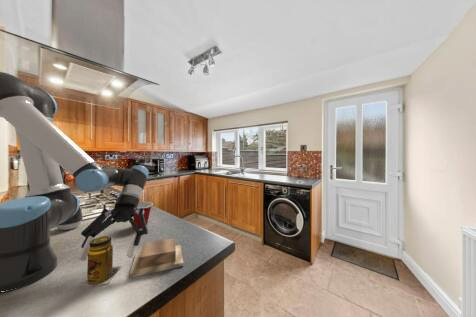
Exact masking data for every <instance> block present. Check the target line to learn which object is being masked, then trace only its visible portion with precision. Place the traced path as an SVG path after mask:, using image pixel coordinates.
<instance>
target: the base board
mask: <svg viewBox="0 0 476 317" xmlns="http://www.w3.org/2000/svg"><path fill="white" fill-rule="evenodd" d="M175 240H176V238H175V237H174V238H167V239H161V240H155V241H149V242H143V244H142V248H141V251H136V253H135V256H134V259H133V263H132V265H131V267H130V271H129V278H135V277H139V276H143V275H144V276H145V275H147V274H148V275H149V274H153V273H158V272H163V271H166V270H170V269H171V270H173V269H175V268H179V267H184V259H183V258H184V257H183V252H182V245H181V244H177V245H176V241H175Z"/></svg>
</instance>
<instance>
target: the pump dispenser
mask: <svg viewBox="0 0 476 317" xmlns="http://www.w3.org/2000/svg"><path fill="white" fill-rule="evenodd" d="M83 218H84V216H83V211H82V208H81V206H80V205H79V209H78V211H77V212H76V213H75V214H74V215H73V216H72V217H71V218H70V219H68V220H67V221H65V222H63V223H61V224H59V225H57V226H55V227H56V229H57V230H59V231H70V230H73V229H76V228H77V227H79V226H80V225H81V222H82V221H83Z"/></svg>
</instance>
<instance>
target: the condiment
mask: <svg viewBox="0 0 476 317" xmlns="http://www.w3.org/2000/svg"><path fill="white" fill-rule="evenodd" d="M113 250H114V247H113V244H112V237H111V236H108V235H107V236H106V235H105V236H99V237H96V238H94V240H92V241H91V242H90V247H89V251H88V256H87V265H86V266H87V269H86V270H87V274H86V275H87V276H86V278H87V279H86V280H85V281H84V282H83V283H81V285H80V286H79V288H81V287H82V288H83V287H93V286H94V287H95V286H102V285H108V284H109V283H110V282H111V281H112V280H113V279H114V277H115V275H116V274H117V273H118V271H119V270H120V269H121V267H122V265H117V266H116V265H115V266H113V262H114V261H113V259H114V257H113V256H114V254H113V252H114V251H113Z"/></svg>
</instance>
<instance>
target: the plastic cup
mask: <svg viewBox="0 0 476 317" xmlns="http://www.w3.org/2000/svg"><path fill="white" fill-rule="evenodd" d="M153 204H154V203H153V202H150V201H139V204H138V207H137V209H136V210H139V209H140V208H143V210H144V211H145V213H144V218H145V222H146V225H147V226H148V223H149V222H148V221H149V218H150V214H151V213H150V212H151V209H152V207H153ZM132 218H133V220H134V222H135V223H136V225H137V226H138V227H141V228H142V226H141V222H140V218H139V215H138V214H137V213H136V214H135V215H134V216H133V217H132Z"/></svg>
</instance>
